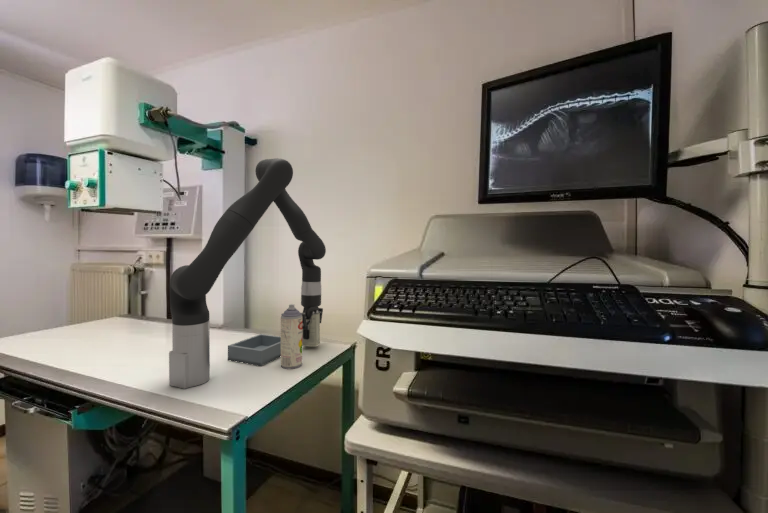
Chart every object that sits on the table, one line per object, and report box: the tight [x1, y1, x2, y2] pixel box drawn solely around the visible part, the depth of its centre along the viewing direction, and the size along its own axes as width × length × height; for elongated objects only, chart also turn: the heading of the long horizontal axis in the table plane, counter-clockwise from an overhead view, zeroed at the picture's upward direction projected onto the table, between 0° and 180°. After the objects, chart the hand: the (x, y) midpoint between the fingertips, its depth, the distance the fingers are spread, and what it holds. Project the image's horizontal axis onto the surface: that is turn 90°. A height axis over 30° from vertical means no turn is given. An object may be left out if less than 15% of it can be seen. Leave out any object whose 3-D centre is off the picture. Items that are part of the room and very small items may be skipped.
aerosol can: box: [280, 303, 303, 370], centre depth 110 cm, size 7×7×20 cm
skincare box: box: [302, 313, 321, 347], centre depth 128 cm, size 6×4×12 cm
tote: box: [227, 333, 281, 367], centre depth 119 cm, size 16×14×5 cm
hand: (310, 337), depth 128 cm, fingers closed on skincare box, 5 cm apart
